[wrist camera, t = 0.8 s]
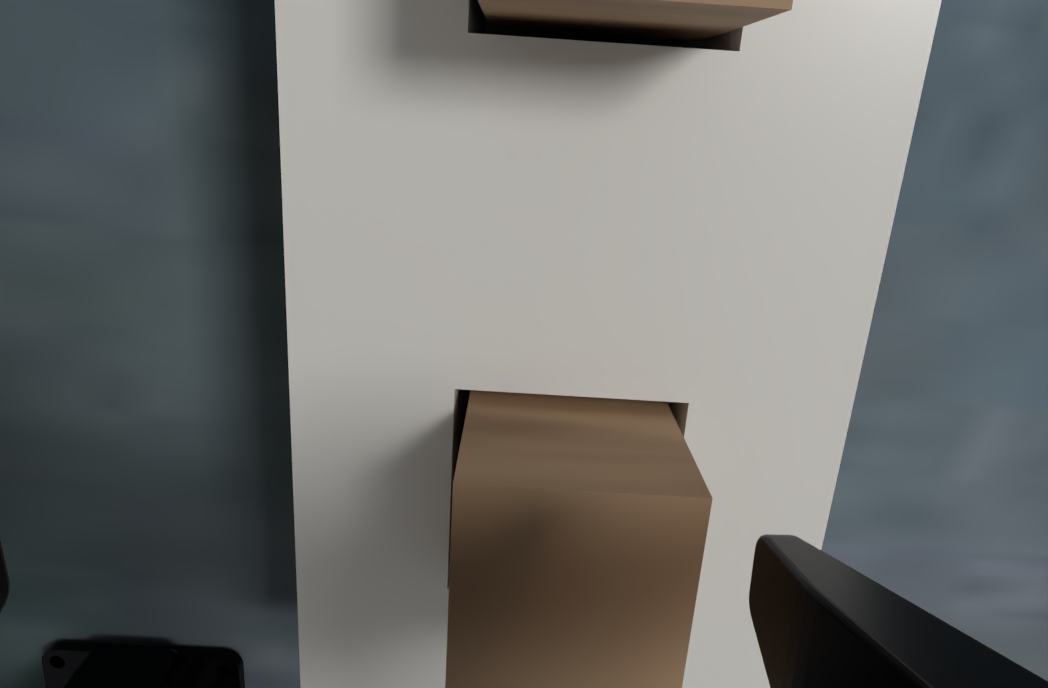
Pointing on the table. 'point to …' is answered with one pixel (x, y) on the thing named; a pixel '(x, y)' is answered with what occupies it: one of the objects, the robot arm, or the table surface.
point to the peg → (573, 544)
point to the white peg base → (573, 279)
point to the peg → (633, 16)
